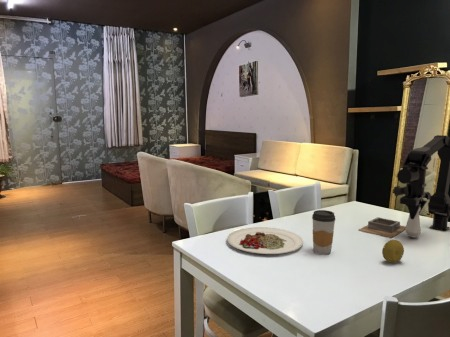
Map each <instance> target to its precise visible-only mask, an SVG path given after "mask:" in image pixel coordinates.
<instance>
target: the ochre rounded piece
mask: <svg viewBox="0 0 450 337" xmlns="http://www.w3.org/2000/svg"><path fill="white" fill-rule="evenodd" d="M381 253H382V257H383V259H384V260H385V261H386V262H388V263H392V264H395V263H398V262H399V261H400V260H402V258H403V256H404V253H405V247H404V245H403V243H402V242H401V241H399V240H396V239H389V240H388V241H387V242H385V243H384V244H383V247H382V252H381Z"/></svg>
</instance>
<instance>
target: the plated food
mask: <svg viewBox="0 0 450 337" xmlns="http://www.w3.org/2000/svg"><path fill="white" fill-rule="evenodd" d="M226 241H227V243H228V244H229V245H230V246H232V247H233V248H235V249H237V250H240V251H244V252H246V253H253V254H259V255H260V254H261V255H275V254H276V255H278V254H286V253H291V252H294V251H297V250H299V249H300V248H301V247H303V244H304V240H303V238H302V237H301V235H299V234H297V233H295V232H292V231H289V230H286V229H281V228H276V227H275V228H274V227H265V226H264V227H260V226H258V227H254V226H253V227H246V228H241V229H236V230H235V231H232V232H231V233H229V234H228V236H227V238H226Z"/></svg>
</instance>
